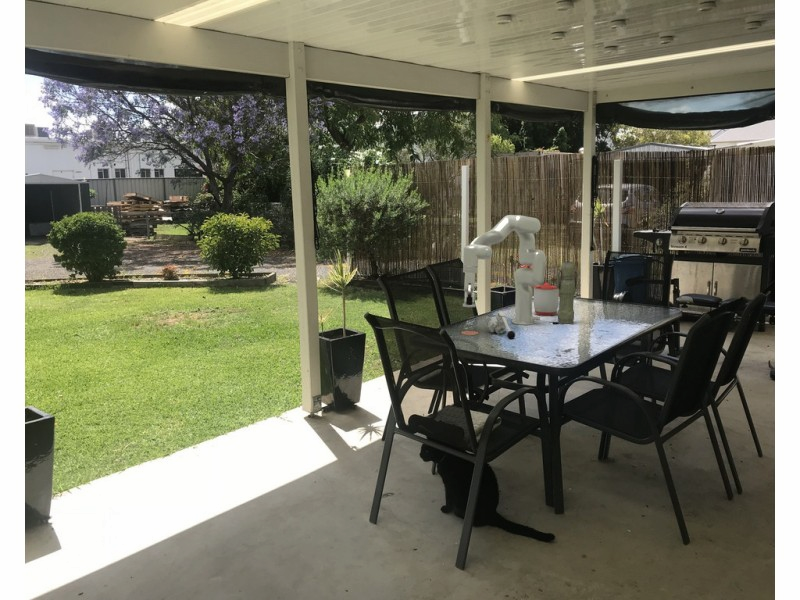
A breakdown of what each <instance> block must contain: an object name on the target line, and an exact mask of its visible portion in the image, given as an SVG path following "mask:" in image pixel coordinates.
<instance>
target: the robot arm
mask: <svg viewBox="0 0 800 600" xmlns="http://www.w3.org/2000/svg"><path fill="white" fill-rule="evenodd" d="M540 229H541V221H540V220H539V219H538V218H536V217H530V216H526V215H519V214H516V215H515V214H508V215H505V216H504V217H502V218H501V220H499V221H498V222H497V224H496V225H495V226H493V227H492V229H491V230H489V231H486V232H484V233H482V234H481V235H479V236H477V237H475V238H474V239H473V241H472V242H471V243H469V245H465V246H464V247H463V256H462V257H463V260H462V261H463V263H462V273H464V288H463V289H464V290H463V291H464V292H465V291H467V297H466V304H467V305H472V300H473V297H472V292H475V291H474V289H475V283H476V273H478V270H479V267H478V265H479V264H478V262H479V260H483V261H484V260H489V259H490V258H492V255H493V248H491V247H490V246H491V245H492V246H493V245H496V244H501V243H502V242H503V241H504V240H505V239H506V238H507V237H508V236H509V235H510V234H511V233H512V232H515V233H516V235H517V236H518V238H519V247H518V248H519V249H518V262H519V264H520V265H522V266H527V267H520V268H517V269H516V270H515V271H514V283H515V301H514V302H515V305H514V306H515V307H514V308H515V309H514V319H512V321H511V323H512V324H515V325H521V326H522V325H523V326H528V325H529V326H530V325H533V324H535V322H536V321H541V316H534V315H533V298H534V291H533V288H532V287H534V286H540V285H543V284H544V281H545V274H546V265H547V264H546V263H547V256H546V254H545V252H544V251H543V250H541V249H536V237H535V235H534V234H537V233H539V231H541V230H540ZM528 267H529V268H528ZM530 267H532V268H530Z"/></svg>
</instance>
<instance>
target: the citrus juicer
mask: <svg viewBox="0 0 800 600" xmlns="http://www.w3.org/2000/svg"><path fill="white" fill-rule="evenodd" d="M559 295H560V294H559V289H557V285H551V284H550V283H549V282H547V281H546V282H545V283H543V284H542V285H540V286H533V297H532V305H533V308H534V311H535V314H536V315H538V316H540V315H543V316H545V317H546V316H548V315H553V316H555V315H556V313H557V312H558V309H559Z"/></svg>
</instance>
